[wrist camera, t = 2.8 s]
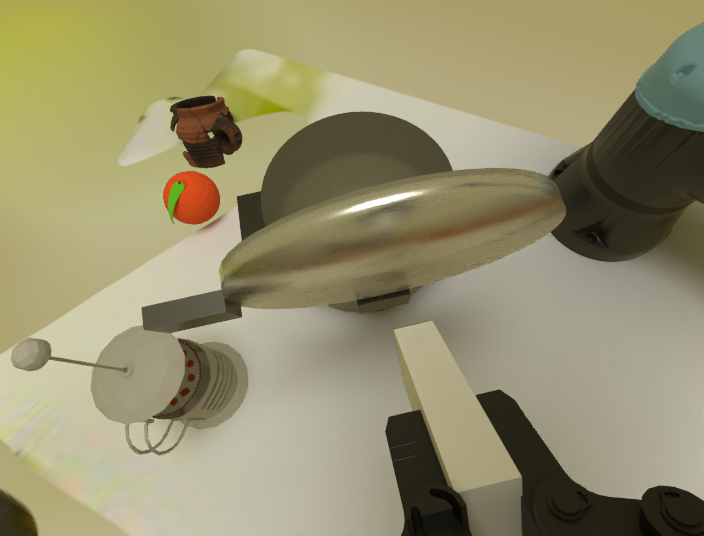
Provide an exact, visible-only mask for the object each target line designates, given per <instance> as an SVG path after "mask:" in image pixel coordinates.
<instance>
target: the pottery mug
mask: <svg viewBox="0 0 704 536" xmlns="http://www.w3.org/2000/svg"><path fill="white" fill-rule="evenodd" d="M170 111H171V112H173V114H174V115H173V117H172V120H171V130H172V131H174V129H175V125H176V123H177V129H176V133H177V135H178V137H179V139H181V140H183V144H184V146H185V147H186V149H187V151H188V152H186V151H184V152H183V155H184V157H185V158H186V160H187V161H188V162H189V164H190V165H191V166H193V167H199V168H212V167H217V166H220V165H223V164H225V161H224V156H223V153H224V154H227V155H229V154H233V153H234V151H237V150H238V149H239V148H240V146H241V144H242V134H241V131H240V129H239V128H238V126H237V125H236V124H234V123H233V122H232V121H234V120H233V116H232V115H231V112H230V111H229V108H228V107H226V106H225V103H224V98H222V97H218V98H217V101H216V99H215V97H214V96H201V97H195V98H190V99H186V100H183V101H180V102H177V103H175V104H173V105H172V106H171V108H170ZM220 115H223V117H220ZM211 131H212V133H213V134H214V137H213V138H212V139H211V138H210V137H209V136H208V134H207V133H208V132H211Z"/></svg>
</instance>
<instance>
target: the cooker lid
mask: <svg viewBox="0 0 704 536" xmlns="http://www.w3.org/2000/svg"><path fill="white" fill-rule="evenodd" d="M565 216H566V207H565V205H564V202H563V199H562V197H561V194H560V191H559V189H558V187H557V185H556V183H555V182H554V181H553V180H552V179H550V178H549V177H547V176H545V175H542V174H539V173H536V172H533V171H526V170H520V169H505V168H484V169H466V170H457V171H449V172H441V173H433V174H428V175H422V176H417V177H412V178H407V179H401V180H397V181H393V182H388V183H384V184H380V185H376V186H372V187H368V188H364V189H361V190H358V191H354V192H351V193H348V194H345V195H341V196H338V197H335V198H332V199H329V200H326V201H324V202H321V203H318V204H315V205H313V206H310V207H307V208H305V209H302V210H300V211H297V212H295V213H293V214H291V215H288V216H286V217H284V218H282V219H279V220H277V221H275V222H273V223H271V224H270V225H268V226H266V227H264V228H262V229H260V230H259V231H257V232H255V233H253V234H252V235H250V236H249V237H248V238H246V239H245V240H243V241H242V242H240V243H239V244H238V245H237V246H235V247H234V248H233V249H232V250H231V251H230V252H229V253H228V254H227V255H226V257H225V258H224V259H223V261H222V262H221V265H220V269H219V273H220V280H221V288H222V290H218V291H214V292H209V293H205V294H200V295H195V296H191V297H186V298H182V299H177V300H173V301H168V302H164V303H159V304H154V305H150V306H145V307H142V317H143V329H144V330H146V331H155V332H163V333H172V332H177V331H181V330H186V329H191V328H195V327H200V326H204V325H209V324H213V323H218V322H222V321H227V320H231V319H236V318H240V317H242V312H241V306H242V307H248V308H257V309H290V308H304V307H314V306H322V305H330V304H336V303H343V302H349V301H355V300H360V299H365V298H370V297H375V296H380V295H384V294H389V293H393V292H397V291H402V290H406V289H410V288H413V287H417V286H421V285H425V284H428V283H432V282H435V281H438V280H442V279H445V278H448V277H451V276H455V275H458V274H461V273H464V272H467V271H469V270H472V269H475V268H478V267H480V266H483V265H486V264H488V263H491V262H493V261H496V260H498V259H501V258H503V257H505V256H508V255H510V254H512V253H514V252H516V251H519V250H521V249H523V248H525V247H527V246H528V245H530V244H532V243H534V242H536V241H538V240H539V239H541V238H542V237H544V236H546V235H547V234H548V233H550V232H551V231H552V230H554V229H555V228H556V227H557V226H558V225H559V224H560V223H561V222H562V221H563V219H564V217H565Z"/></svg>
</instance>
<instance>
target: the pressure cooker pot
mask: <svg viewBox="0 0 704 536" xmlns="http://www.w3.org/2000/svg"><path fill="white" fill-rule="evenodd" d="M449 171H453V170H452V167H451V165H450V163H449V160H448V158H447V157H446V155H445V153H444V152H443V150H442V149H441V148H440V146H439V145H438V144H437V143H436V142H435V141H434V140H433V139H432V138H431V137H430V136H429V135H428V134H427V133H426V132H424V131H423V130H421V129H420V128H418V127H417V126H415V125H413V124H411V123H409V122H407V121H405V120H403V119H400V118H397V117H394V116H391V115H387V114H382V113H375V112H349V113H343V114H337V115H333V116H330V117H326V118H324V119H321V120H319V121H316V122H314V123H312V124H310V125H308V126H306V127H305V128H303V129H302V130H300V131H299V132H297V133H296V134H295V135H293V136H292V137H291V138H290V139H289V140H287V142H286V143H285V144H284V145H283V146H282V147H281V148H280V149H279V151H278V152H277V153H276V155H275V156H274V158H273V159H272V161H271V163H270V165H269V166H268V169H267V171H266V174H265V176H264V180H263V184H262V189H261V191H260V192H255V193H251V194H246V195H242V196H237V202H238V211H239V220H240V229H241V238H242V241H243V240H245V239H246V238H248V237H249V236H250V235H252V234H253V233H255V232H257V231H259V230H260V229H262V228H264V227H266V226H268V225H270V224H271V223H273V222H275V221H277V220H279V219H282V218H284V217H286V216H288V215H291V214H293V213H295V212H297V211H300V210H302V209H305V208H307V207H310V206H313V205H315V204H318V203H321V202H324V201H326V200H329V199H332V198H335V197H338V196H341V195H345V194H348V193H351V192H354V191H358V190H361V189H364V188H368V187H372V186H376V185H380V184H384V183H388V182H393V181H397V180H401V179H407V178H412V177H417V176H422V175H428V174H433V173H441V172H449ZM421 286H422V285H421ZM421 286H417V287H413V288H410V289H406V290H402V291H397V292H393V293H389V294H384V295H380V296H375V297H370V298H365V299H360V300H355V301H349V302H343V303H336V304H330V305H328V306H331V307H333V308H336V309H339V310H344V311H348V312H358V313H359V314H360V313H365V312H374V311H380V310H383V309H387V308H390V307H392V306H396V305H401V304H405V303H408V302H409V299H410V296H411V295H413V294H414V293H415V292H416V291H417V290H418V289H419V288H420V287H421Z"/></svg>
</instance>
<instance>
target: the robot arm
mask: <svg viewBox="0 0 704 536" xmlns="http://www.w3.org/2000/svg"><path fill="white" fill-rule="evenodd" d="M548 177H549V178H550V179H552V180H553V181H554V182H555V183H556V185H557V187H558V189H559V191H560V194H561V197H562V199H563V202H564V205H565V207H566V216H565V217H564V219H563V221H562V222H561V223H560V224H559V225H558V226H557V227H556V228H555V229H554V230H552V231H551V232H552V233H553V234H554V236H555V237H556V238H557V239H558V240H559V241H561V242H562V243H563V244H564V245H566V246H567V247H568V248H570V249H572V250H573V251H575V252H577V253H579V254H581V255H584V256H586V257H589V258H593V259H597V260H602V261H624V260H629V259H633V258H635V257H638V256H640V255H642V254H644V253H646V252H647V251H649V250H651V249H652V248H654V247H655V246H657V245H658V244H659V243H661V242H662V241H663V240H664V239H665V238H666V237H667V236H668V234H669V233H670V231H671V230H672V228H673V226H674V225H675V223H676V222H677V220H678V219H679V217H680V216H681V214H682V213H683V211H684V210H685V208H686V207H687V206H688V205H690V204H691V203H693V202H694V201H696V200H697V201H699V202H701V203H703V204H704V22H703V23H701V24H699V25H697V26H695V27H693V28H691V29H690V30H688V31H686V32H685V33H684V34H683V35H681V36H680V37H678V38H677V39H676V40H675V41H674V42H673V43H672V44H671V45H670V47H669V48H668V49H667V50H666V51H665V52H664V53H663V55H662V56H661V57H660V58H659V59H658V60H657V62H656V63H655V64H653V65H652V66H650V67H649V68H648V69H647V70H646V71H645V72H644V73H643V75H642V76H641V78H640V79H639V81H638V82H637V84H636V88H635V90H634V91H633V92H632V94H631V95H630V96H629V97H628V98H627V100H626V101H625V102H624V103H623V105H622V106H621V107H620V108H619V110H618V111H617V112H616V113H615V114H614V116H613V117H612V118H611V120H610V121H609V122H608V123H607V125H606V126H605V127H604V128H603V129H602V131H601V132H600V133H599V134H598V136H597V137H596V138H595V140H594V141H593V142H591V143H590V144H588V145H586V146H585V147H583V148H581V149H580V150H578V151H576V152H575V153H573V154H571V155H570V156H568V157H566V158H565V159H563V160H562V161H561V162H560V163H559V164H558V165H557V166H556V167H555V168H554V169H553V170H552V172H551V173H550V175H549V176H548ZM394 334H395V340H396V345H397V350H398V355H399V360H400V366H401V371H402V376H403V381H404V386H405V389H406V392H407V395H408V398H409V401H410V404H411V407H412V410H413V411H412V412H407V413H403V414H399V415H395V416H391V417H389V418H388V423H387V427H386V431H385V432H386V437H387V441H388V445H389V449H390V454H391V458H392V462H393V467H394V471H395V475H396V480H397V484H398V488H399V493H400V497H401V501H402V505H403V510H404V517H405V523H404V530H403V532H402V535H401V536H704V501H703V500H702V499H700V498H698V497H697V496H695V495H693V494H692V493H690V492H687V491H685V490H682V489H679V488H676V487H671V486H656V487H653V488H649V489H648V490H647V491H646V492H645V493H644V494H643V496H642V500H637V499H626V498H615V497H607V496H602V495H598V494H595V493H593V492H590V491H588V490H587V489H586V488H584V487H582V486H581V485H579V484H577V483H575V482H574V481H573V480H572V479H570V477H569V476H568V475H567V474H566V473H565V472H564V470H563V469H562V467H561V466H560V464H559V463H558V462H557V460H556V459H555V457H554V456H553V454H552V453H551V452H550V450H549V449H548V447H547V446H546V444H545V443H544V442H543V440H542V439H541V437H540V436H539V434H538V433H537V431H536V430H535V429H534V428H533V427H532V424H531V423H530V421H529V420H528V419H527V417H525V415H524V413H523V411H522V410H521V409H520V407H519V406H518V404H517V403H516V401H515V400H514V399H512V398H511V397H510V396H508V395H507V394H505V393H504V392H502V391H501V390H495V391H491V392H487V393H483V394H479V395H475V394H474V392H473V391H472V389H471V387H470V385H469V384H468V382H467V380H466V378H465V377H464V375H463V373H462V372H461V370H460V368H459V366H458V365H457V363H456V361H455V359H454V358H453V356H452V354H451V352H450V351H449V349H448V347H447V345H446V344H445V342H444V340H443V338H442V337H441V335H440V333H439V331H438V330H437V328H436V326H435V324H434V323H433V321H428V322H424V323H420V324H416V325H411V326H407V327H403V328H399V329H394Z"/></svg>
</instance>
